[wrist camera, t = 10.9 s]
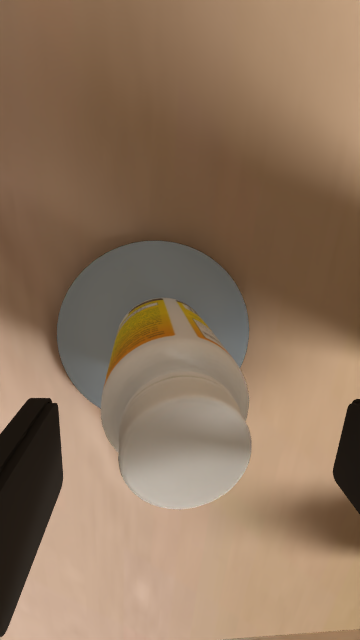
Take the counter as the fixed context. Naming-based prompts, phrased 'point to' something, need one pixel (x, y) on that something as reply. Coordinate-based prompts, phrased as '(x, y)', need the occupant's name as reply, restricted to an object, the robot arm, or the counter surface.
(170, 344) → the supplement bottle
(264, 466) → the counter surface
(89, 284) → the dish
